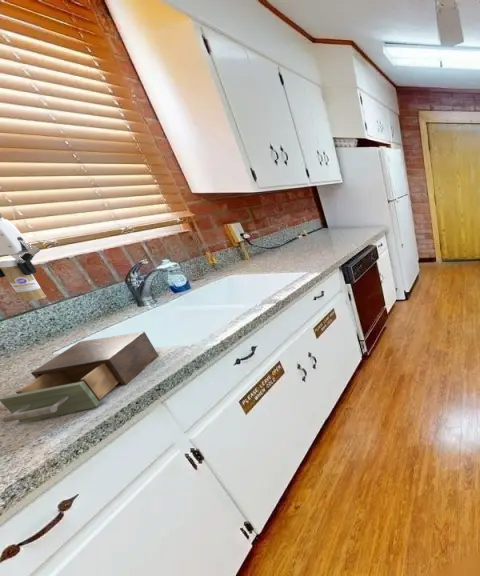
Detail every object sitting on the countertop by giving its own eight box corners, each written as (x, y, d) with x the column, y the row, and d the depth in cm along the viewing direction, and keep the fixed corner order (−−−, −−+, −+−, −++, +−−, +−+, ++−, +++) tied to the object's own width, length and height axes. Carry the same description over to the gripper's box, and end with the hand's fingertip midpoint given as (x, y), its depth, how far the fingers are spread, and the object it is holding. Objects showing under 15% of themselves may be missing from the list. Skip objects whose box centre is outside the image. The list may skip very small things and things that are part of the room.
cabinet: (127, 385, 81) (108, 359, 77) (53, 400, 76) (30, 372, 72) (159, 355, 93) (144, 331, 89) (97, 366, 88) (79, 341, 84)
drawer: (80, 421, 69) (61, 398, 66) (-2, 440, 64) (-27, 416, 61) (133, 373, 84) (119, 352, 81) (70, 385, 80) (53, 364, 77)
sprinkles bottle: (25, 303, 93) (-3, 262, 88) (19, 300, 94) (-8, 260, 89) (50, 297, 97) (24, 258, 92) (44, 295, 98) (19, 257, 93)
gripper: (-90, 220, 78) (-40, 283, 86) (9, 216, 85) (48, 275, 92) (-57, 216, 85) (-13, 274, 92) (33, 212, 91) (68, 267, 98)
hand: (17, 274), depth 92 cm, fingers closed on sprinkles bottle, 4 cm apart
